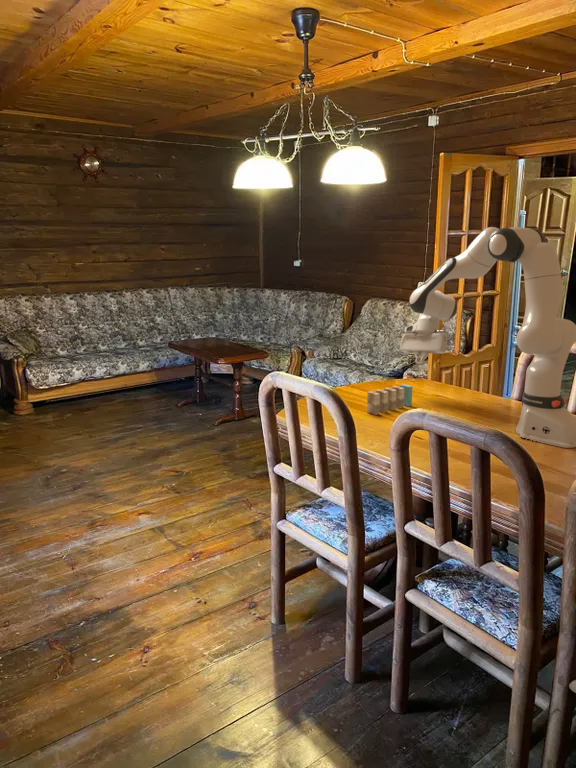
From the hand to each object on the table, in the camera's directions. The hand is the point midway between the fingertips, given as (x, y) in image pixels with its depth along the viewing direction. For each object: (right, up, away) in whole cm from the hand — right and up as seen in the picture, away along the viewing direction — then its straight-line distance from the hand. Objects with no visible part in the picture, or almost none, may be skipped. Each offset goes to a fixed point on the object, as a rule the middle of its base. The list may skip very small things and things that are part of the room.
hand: (419, 363), depth 235 cm
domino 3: (-12, -18, -4) cm, 22 cm away
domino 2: (-16, -19, -7) cm, 26 cm away
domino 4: (-9, -17, -1) cm, 20 cm away
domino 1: (-20, -19, -9) cm, 29 cm away
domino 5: (-5, -17, +1) cm, 18 cm away
